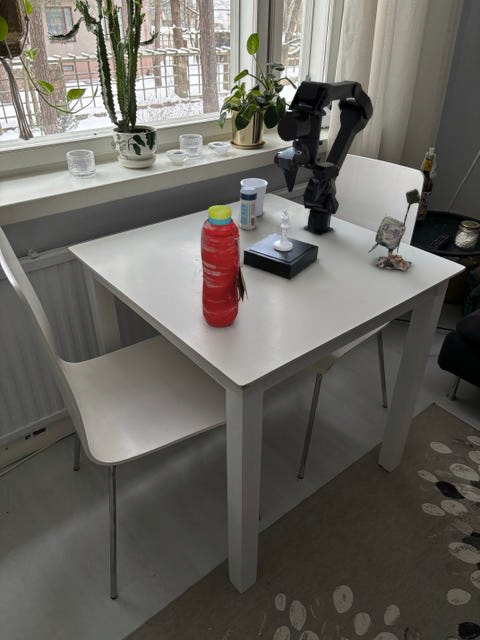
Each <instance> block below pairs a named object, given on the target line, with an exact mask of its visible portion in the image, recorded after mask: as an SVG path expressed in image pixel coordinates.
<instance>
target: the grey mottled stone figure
mask: <svg viewBox="0 0 480 640" xmlns="http://www.w3.org/2000/svg"><path fill="white" fill-rule="evenodd" d="M405 198H406V199H405V200H406V202H407V204H408V205H407V208H406V212H405V213H406V214H405V216H404V220H403V221H401V220H398V219H396V218H394V217H392V216H387V214H385V216H384V217H383V219H382V220H381V221H380V225H379V226H378V229H377V230H376V234H375V238H374V239H375V242H376V243H375V244H374V245H373V246H372V247H371V248H370V249H368V252H367V253H368V254H370V253H371V252H373V250H375V249H376V248H377V247H378V246H380V247H383V248H386V249H387V256H385V255H383V256H381V255H380V257H378V259H377V261H376V263H375V266H376V267H379V268H381V269H382V268H383V269H388V270H391V269H392V270H394V269H396V270H399V269H400V270H402V271H403V272H405V271H408V270H409V268H410V267H411V265H412V264H413V262H411V261H408V260H405V259H404V258H403V255H402V254H398V253H399V248H400V245H401V241H402V239H403V236H404V235H405V233H406V229H407V228H406V221H407V219H408V218H407V217H408V215H409V212H410V209H411V206H412V205H413V204H418V205H419V206H420V207H421V206H422V204H421V199H422V197H421V194H420V192H419V189H417V188H414V189H411V190H408V191H406V193H405ZM395 250H396V254H393V253H394V251H395Z"/></svg>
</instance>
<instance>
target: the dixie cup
mask: <svg viewBox="0 0 480 640" xmlns="http://www.w3.org/2000/svg"><path fill="white" fill-rule="evenodd" d="M240 185H241V188H242V187H244V186H253V187H255V188H256V191H257V205H256V217H260V216H261V215H262V214H263V209H264V203H265V198H266V193H267V186H268V181H267V180H265V179H262V178H255V177H253V178H251V177H250V178H245V179H242V180H241V181H240Z"/></svg>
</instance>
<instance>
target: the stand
mask: <svg viewBox="0 0 480 640" xmlns="http://www.w3.org/2000/svg"><path fill="white" fill-rule="evenodd" d="M281 235H282V234H278V233H275V232H273V233H271V234H269V235H267V236H265V237H263V238H262V239H261V240H259V241H257V242H255V243H253V244H252V245H250V246H248V247H247V248H244V249H243V260H242V261H243V265H245V266H248V267H251V268H254V269H256V270H259V271H263V272H265V273H268V274H270V275H273V276H277V277H279V278H281V279H282V278H283V279H285V280H289V281H291V280H292V279H293V278H295V277H296V276H297V275H299V274H300V273H301V272H303V271H304V270H306V269H307V268H308V267H310V266H311V265H313V264H314V263H315V262H317V260H318V254H319V245H315V244H312V243H309V242H307V241H306V242H305V241H302V240H299V239H295V238H292V237H288V236H287V240H288V241H289V242H291V243H292V244H293V248H292V249H291V250H288V251H280V250H277V249H275V248H274V243H275V242H276V241H279V240H280V239H281Z"/></svg>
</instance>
